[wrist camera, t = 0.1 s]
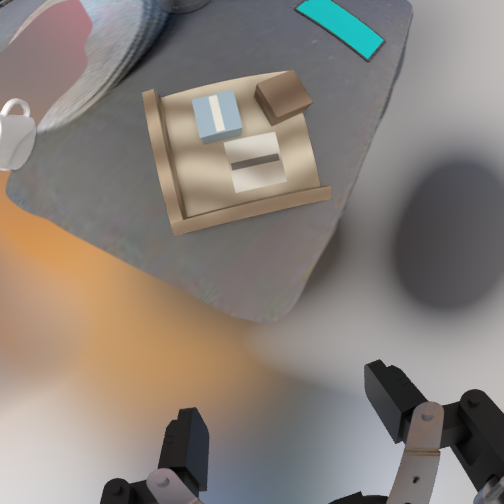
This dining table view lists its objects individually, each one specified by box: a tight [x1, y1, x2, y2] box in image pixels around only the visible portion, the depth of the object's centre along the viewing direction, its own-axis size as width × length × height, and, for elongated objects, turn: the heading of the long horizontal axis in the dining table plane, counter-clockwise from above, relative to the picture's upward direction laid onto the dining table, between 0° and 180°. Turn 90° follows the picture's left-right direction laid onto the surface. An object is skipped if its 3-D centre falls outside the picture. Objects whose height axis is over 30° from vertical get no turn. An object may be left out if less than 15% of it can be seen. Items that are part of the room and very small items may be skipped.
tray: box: [142, 71, 332, 236], centre depth 34 cm, size 19×20×5 cm
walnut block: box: [254, 70, 313, 127], centre depth 32 cm, size 5×5×5 cm
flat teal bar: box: [294, 0, 386, 62], centre depth 32 cm, size 7×1×15 cm
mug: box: [0, 98, 36, 171], centre depth 28 cm, size 12×9×8 cm
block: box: [192, 90, 243, 145], centre depth 32 cm, size 5×5×5 cm
